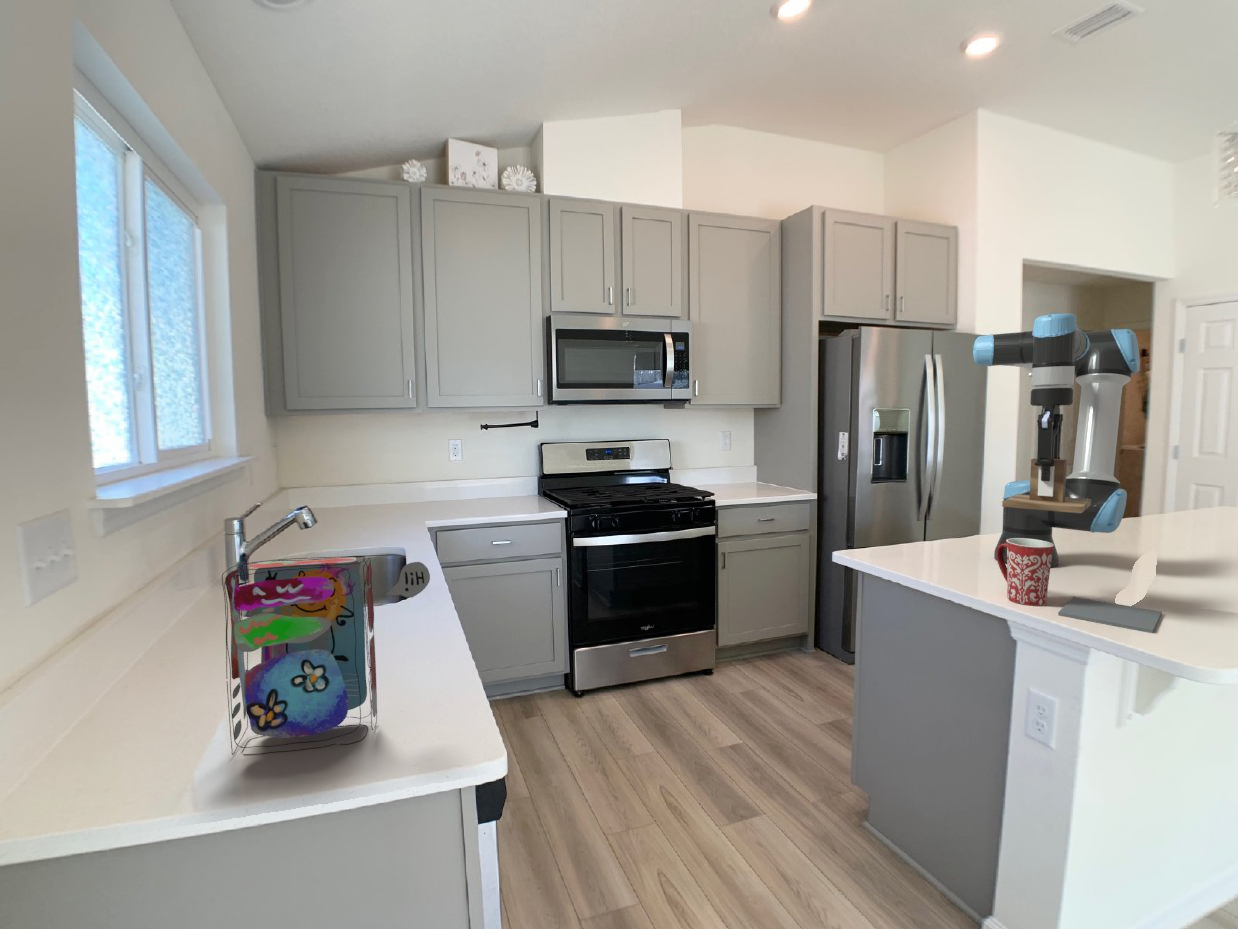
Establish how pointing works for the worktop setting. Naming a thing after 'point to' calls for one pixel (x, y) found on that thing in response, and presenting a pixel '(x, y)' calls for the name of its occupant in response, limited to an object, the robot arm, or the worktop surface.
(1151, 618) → the mat
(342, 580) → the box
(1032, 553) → the mug
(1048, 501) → the wooden base stand
